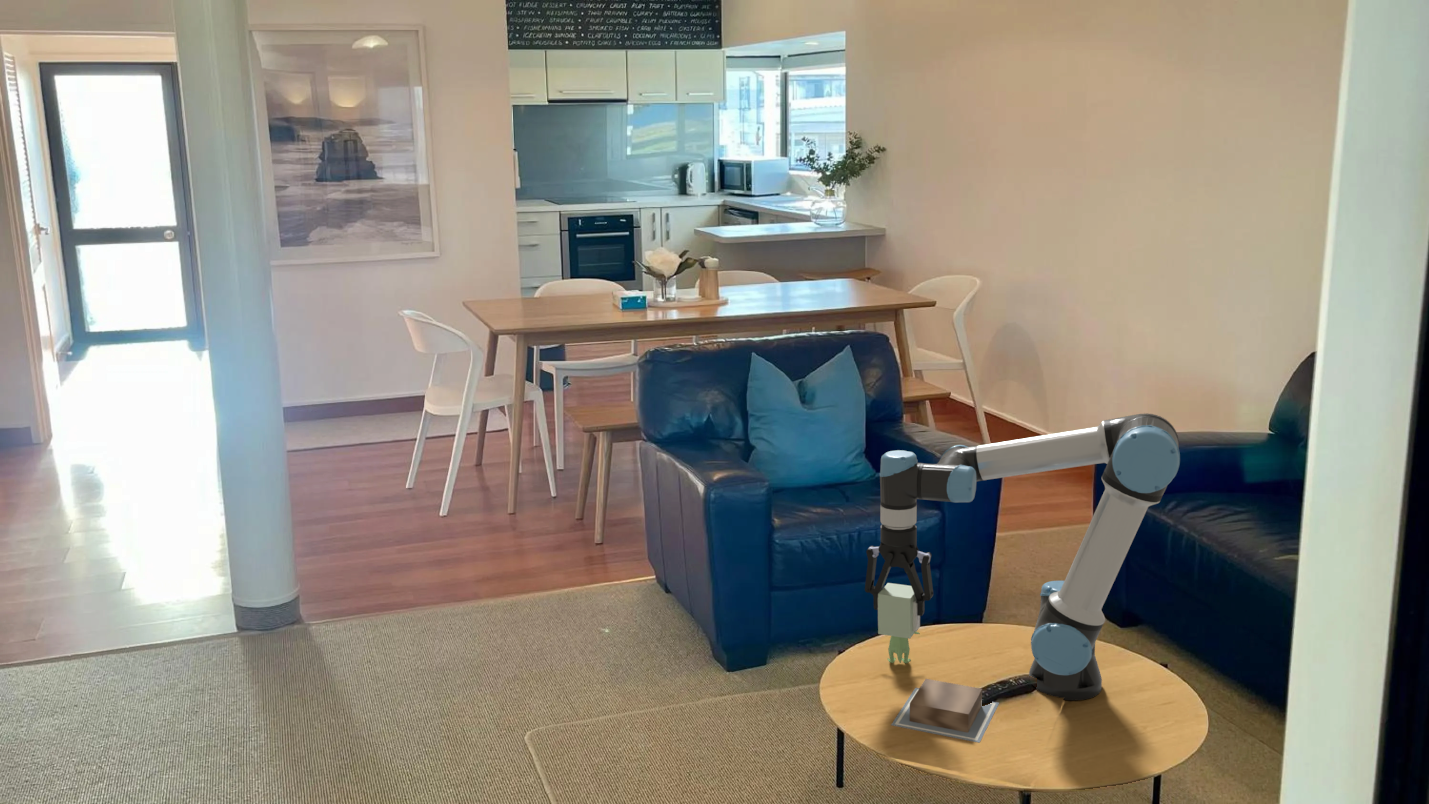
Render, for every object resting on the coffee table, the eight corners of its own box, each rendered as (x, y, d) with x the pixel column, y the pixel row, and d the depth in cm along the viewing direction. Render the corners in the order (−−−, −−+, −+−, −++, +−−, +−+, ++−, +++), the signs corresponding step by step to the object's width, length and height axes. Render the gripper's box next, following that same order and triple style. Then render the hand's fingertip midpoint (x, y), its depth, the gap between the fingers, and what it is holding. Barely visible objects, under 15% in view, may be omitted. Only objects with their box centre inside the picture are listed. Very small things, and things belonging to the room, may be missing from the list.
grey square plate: (999, 705, 247) (999, 702, 247) (979, 745, 231) (979, 742, 231) (915, 690, 254) (915, 687, 254) (890, 727, 239) (891, 724, 239)
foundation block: (981, 706, 245) (982, 688, 245) (968, 732, 235) (968, 714, 234) (925, 695, 250) (925, 678, 250) (909, 721, 240) (909, 703, 239)
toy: (899, 654, 272) (898, 593, 269) (923, 665, 266) (923, 602, 263) (876, 662, 268) (876, 600, 265) (900, 674, 262) (900, 610, 259)
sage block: (919, 626, 254) (919, 586, 252) (910, 638, 248) (910, 598, 246) (887, 621, 257) (887, 582, 255) (878, 633, 251) (878, 594, 249)
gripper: (949, 523, 246) (949, 626, 251) (858, 514, 255) (860, 613, 259) (940, 534, 239) (940, 639, 244) (847, 524, 248) (848, 626, 253)
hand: (898, 626), depth 252 cm, fingers closed on sage block, 7 cm apart
